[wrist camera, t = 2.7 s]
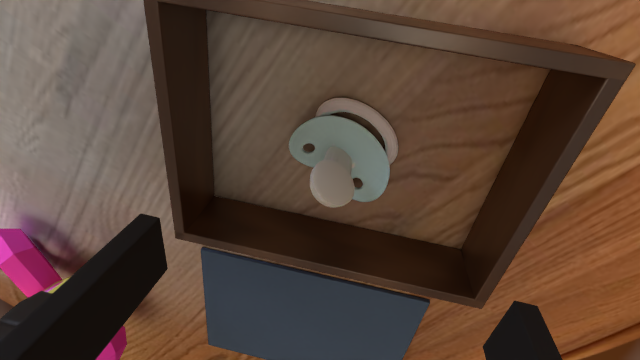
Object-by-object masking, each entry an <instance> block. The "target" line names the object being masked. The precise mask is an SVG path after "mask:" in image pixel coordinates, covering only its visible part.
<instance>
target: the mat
mask: <svg viewBox="0 0 640 360" xmlns="http://www.w3.org/2000/svg"><path fill="white" fill-rule="evenodd" d="M201 258H202V271H203V283H204V295H205V307H206V319H207V331H208V344H209V345H212V346H216V347H220V348H223V349H227V350H231V351H235V352H239V353H243V354H247V355H251V356H255V357H259V358H263V359H266V360H402V359H403V357H404V355H405V353H406V351H407V349H408V347H409V344H410V342H411V340H412V338H413V336H414V334H415V332H416V330H417V328H418V326H419V324H420V322H421V320H422V318H423V316H424V314H425V312H426V310H427V308H428V306H429V304H430V301H429V300H428V299H424V298H420V297H416V296H411V295H407V294H403V293H398V292H394V291H390V290H385V289H381V288H377V287H372V286H368V285H364V284H359V283H355V282H351V281H347V280H342V279H338V278H334V277H329V276H325V275H321V274H316V273H312V272H308V271H303V270H299V269H295V268H290V267H286V266H282V265H277V264H273V263H269V262H265V261H260V260H256V259H252V258H247V257H243V256H239V255H234V254H230V253H226V252H221V251H217V250H213V249H208V248H204V247H202V249H201Z"/></svg>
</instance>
